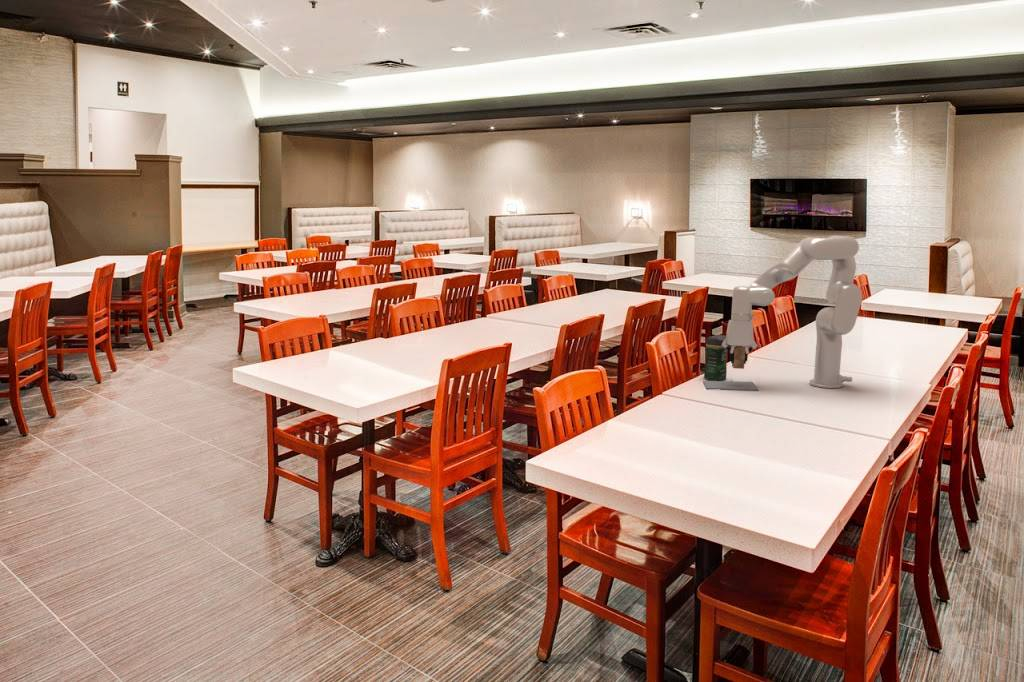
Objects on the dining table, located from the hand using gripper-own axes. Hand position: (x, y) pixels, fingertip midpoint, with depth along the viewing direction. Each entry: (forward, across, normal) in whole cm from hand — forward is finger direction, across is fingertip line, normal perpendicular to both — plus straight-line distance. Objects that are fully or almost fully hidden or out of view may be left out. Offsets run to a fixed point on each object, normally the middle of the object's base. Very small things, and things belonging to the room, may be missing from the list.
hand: (738, 362), depth 302 cm
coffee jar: (+10, +7, -13) cm, 18 cm away
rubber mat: (+10, +3, 0) cm, 10 cm away
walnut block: (+2, 0, 0) cm, 2 cm away
